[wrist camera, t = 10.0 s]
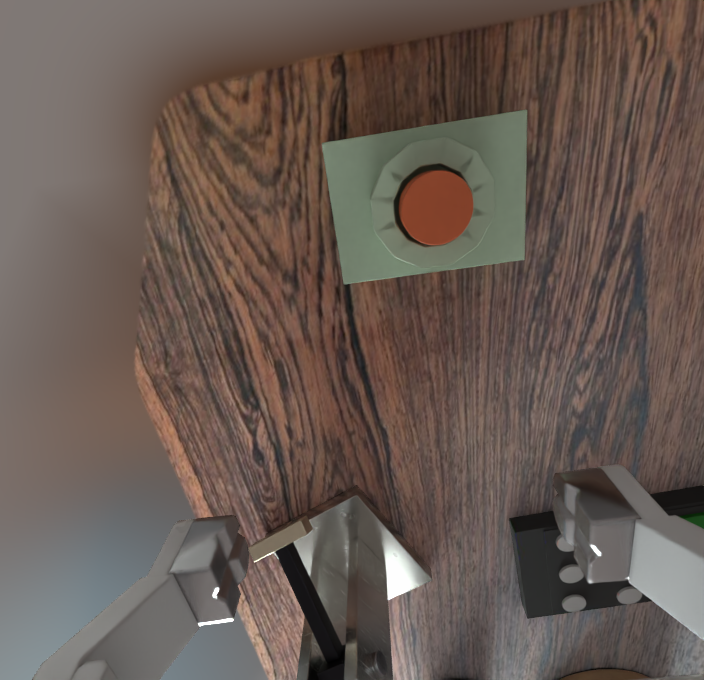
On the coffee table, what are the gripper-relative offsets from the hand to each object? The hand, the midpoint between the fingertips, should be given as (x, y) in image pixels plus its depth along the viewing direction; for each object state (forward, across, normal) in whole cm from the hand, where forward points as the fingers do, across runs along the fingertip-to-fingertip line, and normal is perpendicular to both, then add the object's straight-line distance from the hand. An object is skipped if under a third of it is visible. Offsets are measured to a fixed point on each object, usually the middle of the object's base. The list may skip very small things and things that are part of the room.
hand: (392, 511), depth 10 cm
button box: (+19, -4, -6) cm, 20 cm away
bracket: (+19, +6, +24) cm, 31 cm away
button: (+15, -4, -6) cm, 17 cm away
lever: (+12, +7, +20) cm, 25 cm away
